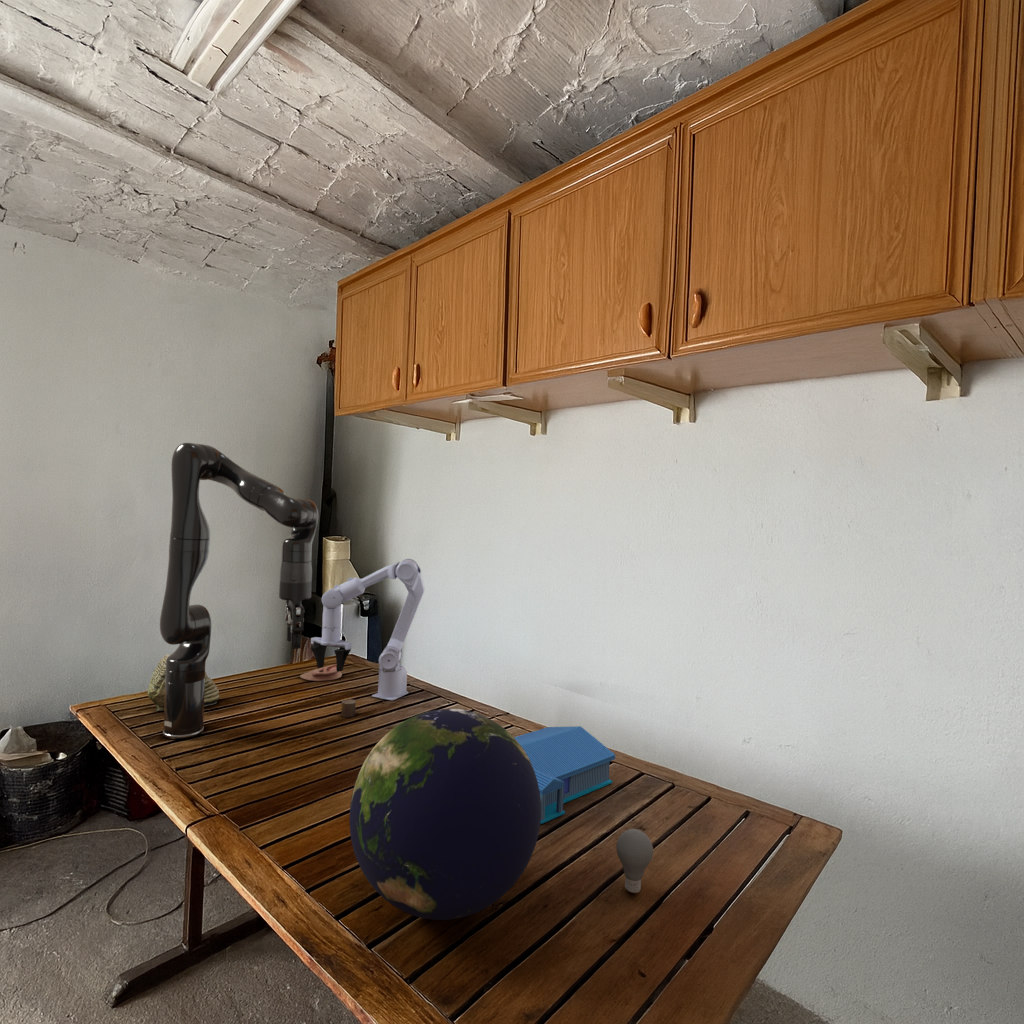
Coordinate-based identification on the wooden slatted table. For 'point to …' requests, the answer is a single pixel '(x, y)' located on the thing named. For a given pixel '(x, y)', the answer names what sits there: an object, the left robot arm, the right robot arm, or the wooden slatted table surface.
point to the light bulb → (634, 857)
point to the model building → (565, 765)
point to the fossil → (158, 687)
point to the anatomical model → (322, 674)
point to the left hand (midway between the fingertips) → (293, 644)
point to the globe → (445, 814)
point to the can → (348, 708)
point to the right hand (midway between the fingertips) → (330, 669)
